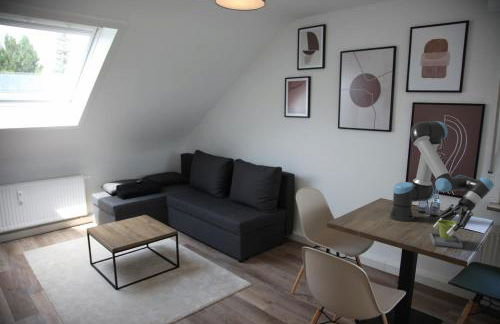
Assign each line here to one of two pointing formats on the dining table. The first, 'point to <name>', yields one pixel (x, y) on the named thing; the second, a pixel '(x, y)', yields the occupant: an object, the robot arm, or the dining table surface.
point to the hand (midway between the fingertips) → (441, 231)
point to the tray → (445, 241)
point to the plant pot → (445, 228)
